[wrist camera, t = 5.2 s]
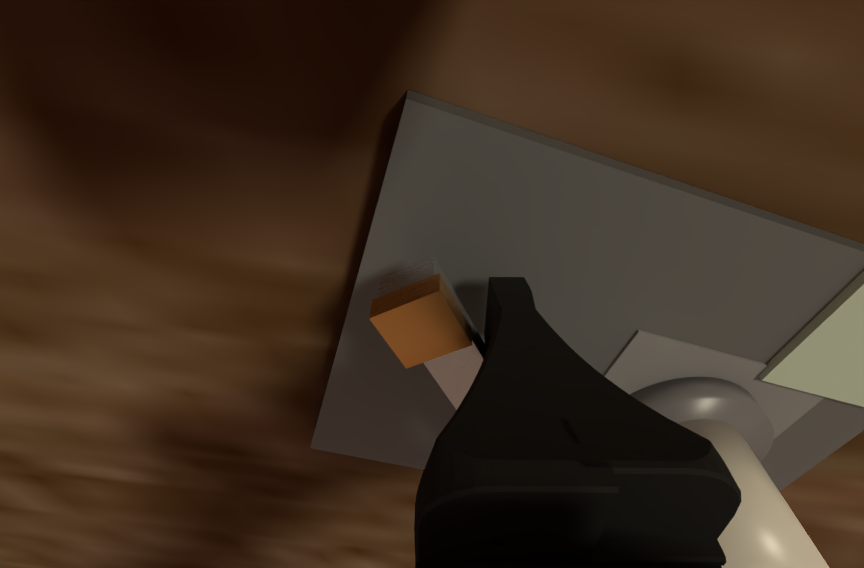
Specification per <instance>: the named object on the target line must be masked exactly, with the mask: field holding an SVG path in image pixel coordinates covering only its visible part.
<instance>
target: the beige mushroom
mask: <svg viewBox="0 0 864 568" xmlns="http://www.w3.org/2000/svg"><path fill="white" fill-rule="evenodd" d="M631 396H633V397H634V398H636V399H637V400H639V401H640V402H642V403H643V404H645V405H647V406H648V407H650V408H651V409H653V410H655V411H656V412H658V413H660V414H661V415H663V416H665V417H666V418H668V419H670V420H672V421H674V422H676V423H678V424H680V425H681V426H683V427H685V428H687V429H689V430H691V431H693V432H695V433H697V434H699V435H700V436H702V437H704V438H706V439H708V440H710V441H711V443H712V444H713V446H714V447H715V449H716V450H717V451H718V453H719V454H720V456H721V457H722V459H723V460H724V462H725V464H726V465H727V467H728V469H729V471H730V472H731V474H732V476H733V478H734V480H735V481H736V483H737V485H738V487H739V488H740V490H741V503H740V505H739V507H738V510H737V512H736V514H735V516H734V517H733V518H732V520H731V521H730V522H729V524H728V525H727V527H726V528H725V529H724V531H723V532H722V533H721V535H720V536H719V538H718V539H717V540H718V542H719V544H720V546H721V548H722V550H723V552H724V554H725V556H726V563H725V565H724V566H721V567H722V568H829V566H828V565H827V563H826V562H825V560H824V559H823V557H822V556H821V554H820V553H819V551H818V550H817V548H816V547H815V545H814V544H813V542H812V541H811V539H810V538H809V536H808V535H807V533H806V532H805V530H804V528H803V527H802V525H801V524H800V522H799V521H798V519H797V518H796V516H795V515H794V513H793V512H792V510H791V509H790V507H789V506H788V504H787V503H786V501H785V500H784V498H783V497H782V495H781V494H780V492H779V491H778V489H777V487H776V486H775V484H774V483H773V481H772V480H771V478H770V477H769V475H768V474H767V472H766V471H765V469H764V468H763V466H762V465H761V461H762V460H763V459H764V458H765V457H766V455H767V454H768V452H769V451H770V449H771V446H772V444H773V440H774V429H773V425H772V423H771V421H770V420H769V418H768V417H767V415H766V414H765V413H764V411H763V410H762V409H761V407H760V406H759V405H758V403H757V402H756V401H755V399H754V398H753V396H752V395H751V394H750V393H749V392H748V391H747V390H746V389H744V388H743V387H741V386H740V385H738V384H735V383H733V382H731V381H727V380H724V379H719V378H713V377H685V378H677V379H672V380H667V381H663V382H660V383H656V384H653V385H651V386H648V387H645V388H643V389H641V390H639V391H636V392H634V393H632V394H631Z"/></svg>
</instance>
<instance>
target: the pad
mask: <svg viewBox="0 0 864 568" xmlns="http://www.w3.org/2000/svg"><path fill="white" fill-rule="evenodd" d="M767 365H768V367H767V368H766V369H765V370H764V371H763V372H762V373H761V374H760V375H759V378H760V379H761V380H762V381H766V382H769V383H773V384H777V385H781V386H785V387H789V388H792V389H796V390H800V391H804V392H808V393H812V394H815V395H819V396H823V397H827V398H831V399H835V400H839V401H842V402H846V403H850V404H854V405H858V406H862V407H864V271H863V272H862V273H861V274H860V275H859V276H858V277H857V278H856V279H855V280H854V281H853V282H852V283H851V284H849V285H848V286H847V287H846V288H845V289H844V290H843V291H842V292H841V293H840V294H839V295H838V296H837V297H836V298H835V299H834V300H833V301H832V302H831V303H830V304H829V305H828V306H827V307H826V308H825V309H824V310H822V311H821V312H820V313H819V314H818V315H817V316H816V317H815V318H814V319H813V320H812V321H811V322H810V323H809V324H808V325H807V326H806V327H805V328H804V329H803V330H802V331H801V332H800V333H799V334H798V335H797V336H795V337H794V338H793V339H792V340H791V341H790V342H789V343H788V344H787V345H786V346H785V347H784V348H783V349H782V350H781V351H780V352H779V353H778V354H777V355H776V356H775V357H774V358H773V359H772V360H771V361H770V362H768V363H767Z"/></svg>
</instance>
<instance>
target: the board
mask: <svg viewBox="0 0 864 568" xmlns="http://www.w3.org/2000/svg"><path fill="white" fill-rule="evenodd" d="M432 255H434V256H435V258H436V260H437V262H438V263H439V265H440V267H441V269H442V270H443V272H444V274H445V276H446V277H447V279H448V281H449V282H450V284H451V286H452V288H453V289H454V291H455V293H456V295H457V296H458V298H459V300H460V302H461V303H462V305H463V307H464V309H465V310H466V312H467V314H468V315H469V317H470V319H471V321H472V322H473V324H474V326H475V328H476V329H477V331H478V333H479V335H480V336H481V338H482V340H483V342H484V343H485V341H484V327H485V316H486V305H487V294H488V283H489V277H524V278H525V280H526V281H527V283H528V285H529V287H530V289H531V291H532V295H533V299H534V303H535V308H536V310H537V311H538V312H539V313H540V315H541V316H542V317H543V318H544V319H545V320H546V322H547V323H548V324H549V325H550V326H551V327H552V329H553V330H554V331H555V332H556V333H557V334H558V335H559V336H560V337H561V338H562V339H563V340H564V341H565V342H566V343H567V344H568V345H569V346H570V347H571V348H572V349H573V350H574V351H575V352H576V353H577V354H578V355H579V356H580V357H581V358H583V359H584V360H585V361H586V362H587V363H588V364H590V365H591V366H592V367H593V368H594V369H595V370H597V371H598V372H599V373H601V374H602V375H603V376H604V377H606V378H607V379H608V380H610V381H611V382H613V383H614V384H615V385H617V386H618V387H619V388H621V389H622V390H624V391H625V392H626V393H628V394H629V395H631V394H632V393H634V392H636V391H639V390H641V389H643V388H645V387H648V386H651V385H653V384H656V383H660V382H663V381H667V380H672V379H677V378H685V377H713V378H719V379H724V380H727V381H731V382H733V383H735V384H738V385H740V386H741V387H743V388H744V389H746V390H747V391H748V392H749V393H750V394H751V395H752V396H753V398H754V399H755V401H756V402H757V403H758V405H759V406H760V407H761V409H762V410H763V411H764V413H765V414H766V415H767V417H768V418H769V420H770V421H771V423H772V425H773V429H774V440H773V444H772V446H771V449H770V451H769V452H768V454H767V455H766V457H765V458H764V459H763V460H762V461H761V465H762V466H763V468H764V469H765V471H766V472H767V474H768V475H769V477H770V478H771V480H772V481H773V483H774V484H775V486H776V487H777V489H778V491H779V492H780V491H781V490H782V489H784V488H785V487H786V486H788V485H789V484H791V483H792V482H793V481H795V480H796V479H797V478H799V477H800V476H802V475H803V474H804V473H806V472H807V471H808V470H810V469H811V468H812V467H814V466H815V465H817V464H818V463H819V462H821V461H822V460H823V459H825V458H826V457H827V456H829V455H830V454H832V453H833V452H834V451H836V450H837V449H838V448H840V447H841V446H843V445H844V444H845V443H847V442H848V441H849V440H851V439H852V438H853V437H855V436H856V435H858V434H859V433H860V432H862V431H863V430H864V407H862V406H858V405H854V404H850V403H846V402H842V401H839V400H835V399H831V398H827V397H823V396H819V395H815V394H812V393H808V392H804V391H800V390H796V389H792V388H789V387H785V386H781V385H777V384H773V383H769V382H766V381H762V380H761V379H760V378H759V375H760V374H761V373H762V372H763V371H764V370H765V369H766V368H767V367H768V365H767V363H768V362H770V361H771V360H772V359H773V358H774V357H775V356H776V355H777V354H778V353H779V352H780V351H781V350H782V349H783V348H784V347H785V346H786V345H787V344H788V343H789V342H790V341H791V340H792V339H793V338H794V337H795V336H797V335H798V334H799V333H800V332H801V331H802V330H803V329H804V328H805V327H806V326H807V325H808V324H809V323H810V322H811V321H812V320H813V319H814V318H815V317H816V316H817V315H818V314H819V313H820V312H821V311H822V310H824V309H825V308H826V307H827V306H828V305H829V304H830V303H831V302H832V301H833V300H834V299H835V298H836V297H837V296H838V295H839V294H840V293H841V292H842V291H843V290H844V289H845V288H846V287H847V286H848V285H849V284H851V283H852V282H853V281H854V280H855V279H856V278H857V277H858V276H859V275H860V274H861V273H862V272H863V271H864V244H862V243H859V242H857V241H854V240H851V239H848V238H845V237H842V236H839V235H836V234H833V233H830V232H827V231H824V230H821V229H818V228H815V227H812V226H809V225H806V224H803V223H800V222H797V221H794V220H792V219H789V218H786V217H783V216H780V215H777V214H774V213H771V212H768V211H765V210H762V209H759V208H756V207H753V206H750V205H747V204H744V203H741V202H738V201H735V200H732V199H730V198H727V197H724V196H721V195H718V194H715V193H712V192H709V191H706V190H703V189H700V188H697V187H694V186H691V185H688V184H685V183H682V182H679V181H676V180H673V179H670V178H668V177H665V176H662V175H659V174H656V173H653V172H650V171H647V170H644V169H641V168H638V167H635V166H632V165H629V164H626V163H623V162H620V161H617V160H614V159H611V158H608V157H606V156H603V155H600V154H597V153H594V152H591V151H588V150H585V149H582V148H579V147H576V146H573V145H570V144H567V143H564V142H561V141H558V140H555V139H552V138H549V137H546V136H543V135H541V134H538V133H535V132H532V131H529V130H526V129H523V128H520V127H517V126H514V125H511V124H508V123H505V122H502V121H499V120H496V119H493V118H490V117H487V116H484V115H481V114H479V113H476V112H473V111H470V110H467V109H464V108H461V107H458V106H455V105H452V104H449V103H446V102H443V101H440V100H437V99H434V98H431V97H428V96H425V95H422V94H419V93H417V92H414V91H411V90H408V92H407V96H406V99H405V103H404V106H403V110H402V114H401V117H400V121H399V125H398V128H397V132H396V136H395V139H394V143H393V146H392V150H391V154H390V157H389V161H388V165H387V168H386V172H385V176H384V179H383V183H382V186H381V190H380V194H379V197H378V201H377V205H376V208H375V212H374V216H373V219H372V223H371V227H370V230H369V234H368V237H367V241H366V245H365V248H364V252H363V256H362V259H361V263H360V267H359V270H358V274H357V277H356V281H355V285H354V288H353V292H352V296H351V299H350V303H349V307H348V310H347V314H346V317H345V321H344V325H343V328H342V332H341V336H340V339H339V343H338V347H337V350H336V354H335V357H334V361H333V365H332V368H331V372H330V376H329V379H328V383H327V387H326V390H325V394H324V397H323V401H322V405H321V408H320V412H319V416H318V419H317V423H316V427H315V430H314V434H313V438H312V442H311V446H310V448H311V449H316V450H321V451H327V452H332V453H337V454H342V455H348V456H353V457H358V458H364V459H369V460H374V461H379V462H385V463H390V464H395V465H400V466H406V467H411V468H416V469H421V470H424V469H425V466H426V463H427V461H428V458H429V456H430V453H431V451H432V449H433V446H434V443H435V440H436V438H437V437H438V436H439V434H440V433H441V431H442V430H443V429H444V427H445V426H446V425H447V423H448V422H449V421H450V419H451V418H452V417H453V415H454V414H455V412H456V409H455V407H454V406H453V404H452V403H451V402H450V400H449V399H448V397H447V396H446V394H445V393H444V392H443V390H442V389H441V387H440V386H439V384H438V383H437V382H436V380H435V379H434V377H433V376H432V374H431V373H430V372H429V370H428V369H427V367H426V366H425V365H424V363H421V364H418V365H415V366H412V367H409V368H407V369H406V368H405V367H404V365H403V364H402V362H401V361H400V360H399V358H398V357H397V356H396V354H395V353H394V352H393V350H392V349H391V348H390V346H389V345H388V344H387V342H386V341H385V339H384V338H383V337H382V335H381V334H380V333H379V331H378V330H377V329H376V327H375V326H374V325H373V323H372V322H371V321H370V319H369V316H370V311H371V305H372V300H374V299H376V298H378V294H379V288H380V282H381V277H382V276H385V275H387V274H389V273H392V272H394V271H396V270H399V269H401V268H404V267H406V266H408V265H411V264H413V263H416V262H418V261H420V260H423V259H425V258H428V257H430V256H432Z"/></svg>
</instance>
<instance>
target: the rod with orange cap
mask: <svg viewBox="0 0 864 568" xmlns="http://www.w3.org/2000/svg"><path fill="white" fill-rule="evenodd" d="M369 319H370V321H371V322H372V323H373V325H374V326H375V327H376V329H377V330H378V331H379V333H380V334H381V335H382V337H383V338H384V339H385V341H386V342H387V344H388V345H389V346H390V348H391V349H392V350H393V352H394V353H395V354H396V356H397V357H398V358H399V360H400V361H401V362H402V364H403V365H404V367H405V368H406V369H407V368H409V367H412V366H415V365H418V364H421V363H424V365H425V366H426V367H427V369H428V370H429V372H430V373H431V374H432V376H433V377H434V379H435V380H436V382H437V383H438V384H439V386H440V387H441V389H442V390H443V392H444V393H445V394H446V396H447V397H448V399H449V400H450V402H451V403H452V404H453V406H454V407H455V409H456V410H457V409H458V407H459V406H460V404H461V402H462V401H463V399H464V397H465V396H466V394H467V392H468V391H469V389H470V387H471V385H472V383H473V381H474V379H475V377H476V375H477V373H478V371H479V369H480V366H481V364H482V362H483V359H484V357H485V354H486V348H485V343H484V342H483V340H482V338H481V336H480V335H479V333H478V331H477V329H476V328H475V326H474V324H473V322H472V321H471V319H470V317H469V315H468V314H467V312H466V310H465V309H464V307H463V305H462V303H461V302H460V300H459V298H458V296H457V295H456V293H455V291H454V289H453V288H452V286H451V284H450V282H449V281H448V279H447V277H446V276H445V274H444V272H443V270H442V269H441V267H440V265H439V263H438V262H437V260H436V258H435V256H434V255H432V256H430V257H428V258H425V259H423V260H420V261H418V262H416V263H413V264H411V265H408V266H406V267H404V268H401V269H399V270H396V271H394V272H392V273H389V274H387V275H385V276H382V277H381V282H380V288H379V294H378V298H376V299H374V300H372V305H371V311H370V316H369Z"/></svg>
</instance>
